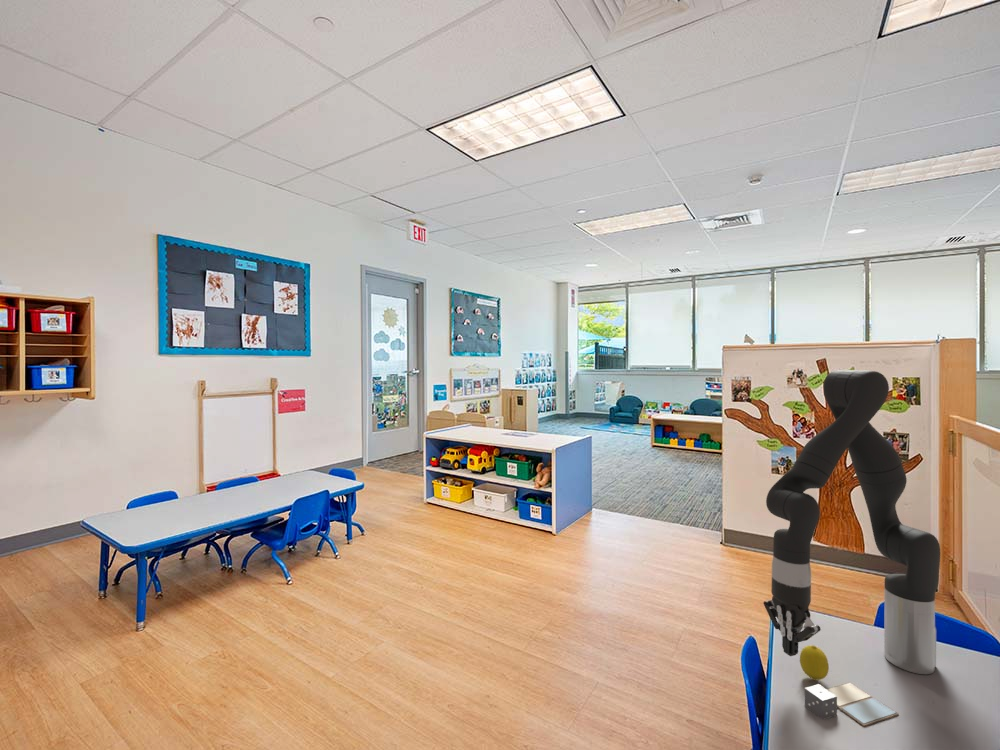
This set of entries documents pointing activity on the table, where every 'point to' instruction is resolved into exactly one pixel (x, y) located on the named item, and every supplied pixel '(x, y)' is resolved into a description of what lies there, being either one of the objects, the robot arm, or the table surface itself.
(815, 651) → the lemon
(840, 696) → the board
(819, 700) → the die
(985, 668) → the table surface
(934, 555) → the robot arm
